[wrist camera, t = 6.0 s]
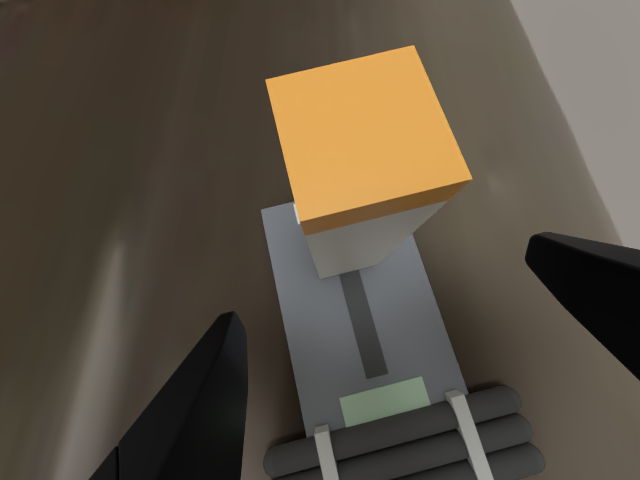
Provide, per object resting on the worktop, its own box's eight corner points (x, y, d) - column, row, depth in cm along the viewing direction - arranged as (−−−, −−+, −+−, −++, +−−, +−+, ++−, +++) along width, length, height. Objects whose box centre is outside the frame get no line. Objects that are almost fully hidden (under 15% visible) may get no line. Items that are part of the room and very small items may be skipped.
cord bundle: (502, 373, 16) (519, 379, 15) (539, 469, 15) (562, 486, 14) (263, 437, 16) (256, 449, 15) (280, 540, 15) (275, 566, 13)
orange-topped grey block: (377, 264, 18) (472, 178, 6) (320, 279, 18) (299, 221, 6) (361, 210, 19) (413, 45, 7) (306, 224, 19) (265, 79, 7)
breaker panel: (465, 394, 16) (470, 398, 16) (308, 436, 16) (307, 442, 15) (390, 181, 20) (392, 177, 19) (262, 212, 20) (260, 209, 19)
